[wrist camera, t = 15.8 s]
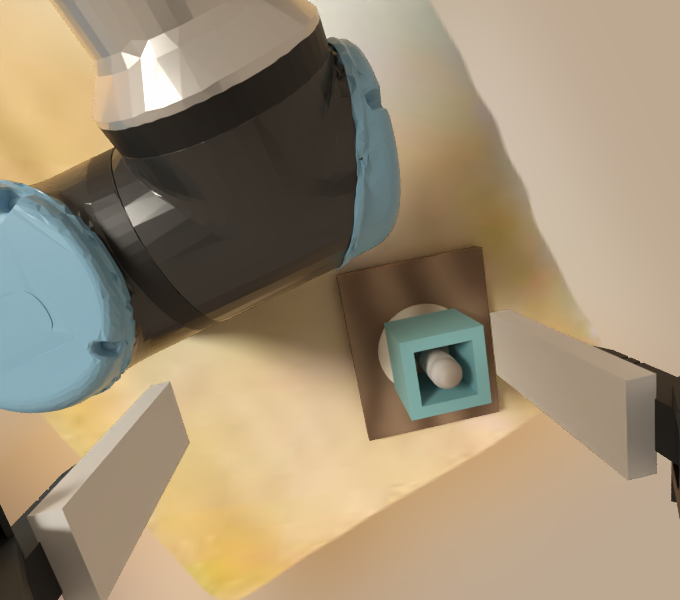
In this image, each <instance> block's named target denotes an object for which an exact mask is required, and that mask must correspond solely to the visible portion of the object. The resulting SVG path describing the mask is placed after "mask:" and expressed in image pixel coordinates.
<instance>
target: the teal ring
mask: <svg viewBox="0 0 680 600" xmlns="http://www.w3.org/2000/svg"><path fill="white" fill-rule="evenodd" d="M384 328H385V334H386V339H387V345H388V351H389V357H390V363H391V368H392V374H393V380H394V386H395V390H396V392H397V393H398V395H399V397H400V399H401V401H402V403H403V405H404V407H405V409H406V411H407V412H408V414H409V416H410V418H411V420H412V421H413V420H418V419H422V418H426V417H431V416H435V415H440V414H444V413H449V412H453V411H458V410H462V409H467V408H471V407H475V406H480V405H484V404H489V403H492V401H491V392H490V383H489V374H488V365H487V356H486V347H485V338H484V329H483V325H482V324H480V323H479V322H477V321H475V320H473V319H472V318H470V317H468V316H467V315H465V314H463V313H462V312H460V311H458V310H456V309H455V308H452V309H447V310H442V311H437V312H433V313H428V314H423V315H419V316H414V317H409V318H404V319H400V320H395V321H390V322H385V323H384ZM447 345H448V348H449V355H451V356H452V357H453V358H454V359H455V360H456V361H457V362H458V363H459V364H460V366H461V368H462V379H461V381H460V383H459V384H458V385H457V386H455V387H454V388H451V389H443V388H440V387H438V386H437V385H435V384H434V383H433V381H432V380H431V379H430V378H429V376H428V375H427V374H426V372H424V373H420V374H417V371H416V364H415V358H414V352H419V351H424V350H428V349H433V348H438V347H442V346H447Z"/></svg>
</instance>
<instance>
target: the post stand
mask: <svg viewBox="0 0 680 600" xmlns="http://www.w3.org/2000/svg"><path fill="white" fill-rule="evenodd" d="M337 280H338V285H339V290H340V296H341V301H342V306H343V311H344V316H345V321H346V326H347V331H348V336H349V341H350V346H351V351H352V357H353V362H354V367H355V372H356V377H357V382H358V387H359V392H360V397H361V402H362V407H363V412H364V418H365V423H366V428H367V433H368V437H369V440H370V441H371V440H376V439H380V438H384V437H389V436H393V435H398V434H402V433H407V432H411V431H415V430H420V429H424V428H429V427H433V426H438V425H442V424H446V423H451V422H455V421H460V420H464V419H469V418H473V417H477V416H482V415H486V414H491V413H495V412H499V404H498V394H497V385H496V376H495V366H494V357H493V347H492V338H491V329H490V319H489V310H488V300H487V291H486V282H485V272H484V263H483V254H482V247H477V246H475V247H470V248H465V249H460V250H455V251H450V252H446V253H441V254H436V255H431V256H426V257H421V258H416V259H411V260H407V261H402V262H397V263H392V264H387V265H382V266H377V267H372V268H367V269H363V270H358V271H353V272H348V273H343V274H338V275H337ZM452 308H455V309H456V310H458V311H460V312H462V313H463V314H465V315H467V316H468V317H470V318H472V319H473V320H475V321H477V322H479V323H480V324H482V325H483V329H484V338H485V347H486V356H487V365H488V374H489V383H490V392H491V401H492V403H489V404H484V405H480V406H475V407H471V408H467V409H462V410H458V411H453V412H449V413H444V414H440V415H435V416H431V417H426V418H422V419H418V420H413V421H412V420H411V418H410V416H409V414H408V412H407V411H406V409H405V407H404V405H403V403H402V401H401V399H400V397H399V395H398V393H397V392H396V390H395V386H394V380H393V374H392V368H391V363H390V357H389V351H388V345H387V339H386V334H385V328H384V323H385V322H390V321H395V320H400V319H404V318H409V317H414V316H419V315H423V314H428V313H433V312H437V311H442V310H447V309H452ZM414 358H415V364H416V371H417V374H420V373H424V372H426V374H427V375H428V376H429V378H430V379H431V380H432V381H433V383H434V384H435V385H437V386H438V387H440V388H443V389H451V388H454V387H455V386H457V385H458V384H459V383H460V381H461V379H462V368H461V366H460V364H459V363H458V362H457V361H456V360H455V359H454V358H453V357H452V356H451V355H449V348H448V345H447V346H442V347H438V348H433V349H428V350H424V351H419V352H414Z"/></svg>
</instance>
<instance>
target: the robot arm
mask: <svg viewBox="0 0 680 600" xmlns="http://www.w3.org/2000/svg"><path fill="white" fill-rule="evenodd" d="M50 2H51V3H52V4H53V6H54V7H55V9H56V10H57V11H58V13H59V14H60V16H61V17H62V18H63V20H64V21H65V23H66V24H67V25H68V27H69V28H70V29H71V31H72V32H73V34H74V35H75V36H76V38H77V39H78V41H79V42H80V43H81V45H82V46H83V48H84V49H85V50H86V52H87V53H88V55H89V56H90V57H91V59H92V62H93V66H94V71H95V87H94V103H93V119H94V120H95V122H96V123H97V125H98V127H99V128H100V129H101V130H102V132H103V133H104V134H105V135H106V137H107V138H108V139H109V140H110V142H111V143H112V144H113V145H114V148H112V149H110V150H108V151H106V152H104V153H102V154H100V155H98V156H96V157H93V158H91V159H89V160H87V161H85V162H83V163H81V164H79V165H77V166H75V167H73V168H70V169H68V170H66V171H64V172H62V173H60V174H58V175H56V176H54V177H52V178H50V179H48V180H45V181H43V182H40V183H37V184H33V185H29V186H27V185H25V184H22V183H17V182H13V181H8V180H0V409H4V410H8V411H14V412H21V413H43V412H52V411H57V410H61V409H65V408H68V407H71V406H74V405H76V404H79V403H81V402H83V401H85V400H86V399H88V398H90V397H92V396H94V395H97V394H100V393H102V392H104V391H106V390H107V389H109V388H110V387H111V386H112V385H113V384H114V382H116V381H117V380H119V379H120V378H121V374H123V373H124V372H125V370H127V369H128V368H130V367H131V366H133V365H135V364H136V363H138V362H140V361H142V360H143V359H145V358H147V357H149V356H151V355H153V354H155V353H157V352H159V351H161V350H163V349H165V348H167V347H169V346H171V345H173V344H176V343H178V342H180V341H182V340H184V339H186V338H188V337H190V336H192V335H194V334H196V333H198V332H200V331H202V330H204V329H206V328H208V327H210V326H212V325H214V324H216V323H219V322H221V321H225V320H227V319H229V318H231V317H233V316H236V315H238V314H240V313H242V312H244V311H246V310H248V309H250V308H252V307H255V306H257V305H259V304H261V303H263V302H265V301H267V300H269V299H271V298H274V297H276V296H278V295H280V294H282V293H284V292H286V291H288V290H290V289H293V288H295V287H297V286H299V285H301V284H303V283H305V282H307V281H309V280H312V279H314V278H316V277H318V276H320V275H322V274H324V273H326V272H328V271H331V270H338V269H340V268H343V266H344V265H347V264H348V263H349V261H350V260H351V259H353V258H354V257H356V256H358V255H360V254H362V253H364V252H366V251H367V250H369V249H371V248H373V247H375V246H377V245H379V244H380V243H381V242H382V241H383V240H384V239H385V238H386V237H387V236H388V235H389V233H390V232H391V231H392V229H393V227H394V225H395V223H396V220H397V216H398V212H399V206H400V191H401V189H400V170H399V161H398V154H397V148H396V142H395V137H394V132H393V128H392V124H391V120H390V116H389V114H388V111H387V110H386V109H384V108H383V107H382V105H381V97H380V86H379V84H378V82H377V79H376V77H375V74H374V72H373V70H372V68H371V66H370V64H369V62H368V60H367V59H366V57H365V55H364V54H363V53H362V51H361V50H360V49H359V48H358V47H357V46H356V45H355V44H353V43H351V42H350V41H348V40H346V39H337V38H334V37H330V38H328V39H326V36H325V33H324V29H323V26H322V23H321V19H320V16H319V13H318V10H317V7H316V6H315V5H314V4H312V3H310V2H309V1H307V0H50ZM490 317H491V326H492V336H493V345H494V354H495V364H496V373H497V375H498V376H499V377H501V378H502V379H503V380H504V381H505V382H507V383H508V384H509V385H510V386H512V387H513V388H514V389H515V390H517V391H518V392H519V393H520V394H522V395H523V396H524V397H525V398H527V399H528V400H529V401H530V402H532V403H533V404H534V405H535V406H536V407H538V408H539V409H540V410H541V411H543V412H544V413H545V414H546V415H548V416H549V417H550V418H551V419H553V420H554V421H555V422H556V423H558V424H559V425H560V426H561V427H562V428H564V429H565V430H566V431H567V432H569V433H570V434H571V435H572V436H574V437H575V438H576V439H578V440H579V441H580V442H581V443H582V444H584V445H585V446H586V447H587V448H589V449H590V450H591V451H592V452H593V453H595V454H596V455H597V456H598V457H600V458H601V459H602V460H604V461H605V462H606V463H607V464H608V465H610V466H611V467H612V468H613V469H615V470H616V471H617V472H618V473H620V474H621V475H622V476H623V477H625V478H626V479H627V480H632V479H636V478H640V477H644V476H648V475H652V474H656V473H657V452H658V453H660V454H661V455H663V456H664V457H666V458H667V459H669V460H670V461H672V475H671V477H672V478H671V479H672V480H671V482H672V483H671V501H673V502H677V507H678V512H679V517H680V376H679V377H676V376H673V375H671V374H669V373H666V372H664V371H661V370H659V369H657V368H654V367H652V366H650V365H647V364H645V363H640V361H638V360H635V359H633V358H628V356H626V355H623V354H621V353H619V352H616V351H614V350H610V349H605V348H601V347H596V346H591V345H589V344H587V343H585V342H582V341H580V340H578V339H575V338H573V337H571V336H569V335H566V334H564V333H562V332H559V331H557V330H555V329H552V328H550V327H548V326H546V325H543V324H541V323H539V322H536V321H534V320H532V319H530V318H527V317H525V316H523V315H520V314H518V313H516V312H514V311H511V310H509V309H506V310H501V311H497V312H492V313H490ZM189 443H190V442H189V439H188V436H187V433H186V430H185V427H184V423H183V420H182V417H181V414H180V411H179V408H178V405H177V402H176V398H175V395H174V392H173V389H172V386H171V383H170V382H166V383H162V384H157V385H152V386H150V387H149V388H148V389H147V390H146V391H145V392H144V393H143V394H142V395H141V397H140V398H139V399H138V400H137V401H136V402H135V403H134V404H133V405H132V406H131V407H130V408H129V409H128V410H127V411H126V412H125V413H124V414H123V416H122V417H121V418H120V419H119V420H118V421H117V422H116V423H115V424H114V425H113V426H112V427H111V428H110V429H109V430H108V431H107V432H106V433H105V435H104V436H103V437H102V438H101V439H100V440H99V441H98V442H97V443H96V444H95V445H94V446H93V447H92V448H91V449H90V450H89V451H88V452H87V454H86V455H85V456H84V457H83V458H82V459H81V460H80V461H79V462H78V463H77V464H75V465H74V466H73V467H71V468H70V469H69V470H67V471H66V472H64V473H63V474H62V475H61V476H60V477H59V478H58V479H57V480H56V481H55V482H54V483H53V484H52V485H51V486H50V487H49V490H46V491H45V492H44V493H43V494H42V495H41V496H40V497H39V500H38V501H36V502H35V503H34V504H33V505H32V506H31V507H30V508H29V509H28V510H27V511H26V512H25V513H24V514H23V515H22V516H21V517H20V518H19V519H18V520H17V521H16V522H15V523H14V524H13V525H12V526H11V527H10V525H9V522H8V520H7V519H6V516H5V514H4V512H3V509H2V507H1V505H0V600H58V599H59V597H60V596H61V594H62V596H63V598H64V600H107V598H108V596H109V595H110V592H111V591H112V589H113V587H114V585H115V583H116V581H117V579H118V577H119V576H120V574H121V572H122V570H123V568H124V566H125V564H126V562H127V560H128V559H129V557H130V555H131V553H132V551H133V549H134V547H135V545H136V543H137V541H138V539H139V538H140V536H141V534H142V532H143V530H144V528H145V526H146V524H147V523H148V521H149V519H150V517H151V515H152V513H153V511H154V509H155V507H156V506H157V504H158V502H159V500H160V498H161V496H162V494H163V492H164V490H165V488H166V487H167V485H168V483H169V481H170V479H171V477H172V475H173V473H174V471H175V470H176V468H177V466H178V464H179V462H180V460H181V458H182V456H183V454H184V453H185V451H186V449H187V447H188V445H189Z"/></svg>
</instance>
